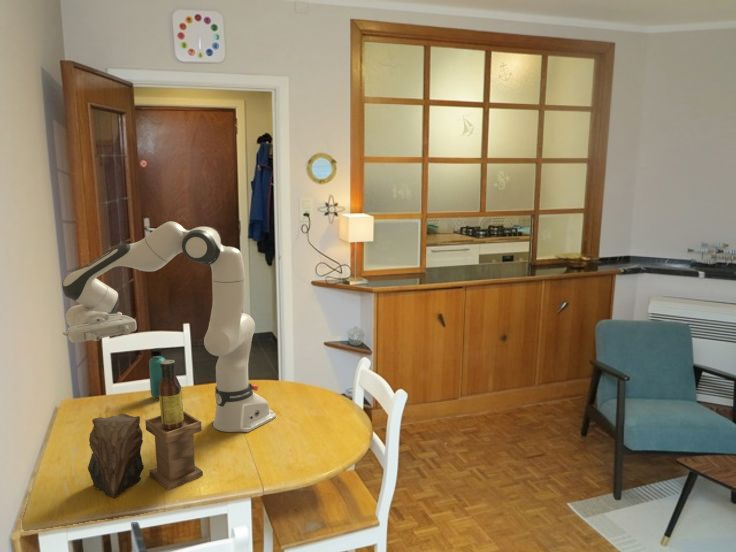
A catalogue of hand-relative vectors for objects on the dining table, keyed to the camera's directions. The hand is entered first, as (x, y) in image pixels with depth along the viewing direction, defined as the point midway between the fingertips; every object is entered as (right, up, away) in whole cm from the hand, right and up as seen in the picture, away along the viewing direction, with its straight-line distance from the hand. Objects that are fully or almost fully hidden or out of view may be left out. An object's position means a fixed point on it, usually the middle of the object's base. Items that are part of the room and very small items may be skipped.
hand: (112, 335), depth 183 cm
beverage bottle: (-4, -30, +52) cm, 60 cm away
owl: (+5, -43, -11) cm, 44 cm away
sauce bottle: (+21, -26, -8) cm, 35 cm away
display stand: (+21, -42, -5) cm, 47 cm away
